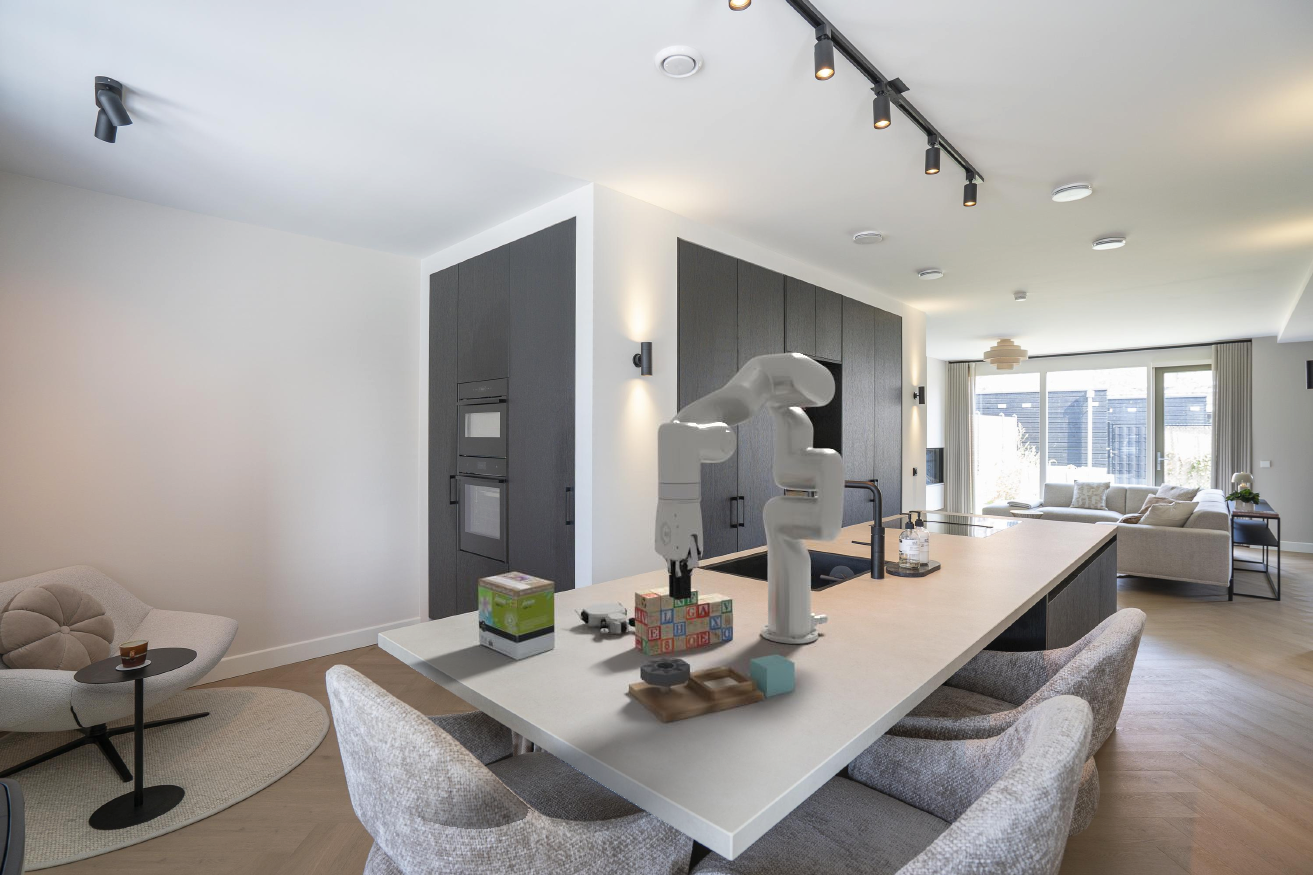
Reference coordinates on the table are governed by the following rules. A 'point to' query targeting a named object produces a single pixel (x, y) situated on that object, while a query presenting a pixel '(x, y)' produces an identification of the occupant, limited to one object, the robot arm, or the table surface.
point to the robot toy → (607, 617)
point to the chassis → (698, 694)
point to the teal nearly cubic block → (773, 674)
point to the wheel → (665, 671)
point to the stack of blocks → (680, 620)
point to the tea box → (516, 614)
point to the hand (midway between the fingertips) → (680, 597)
